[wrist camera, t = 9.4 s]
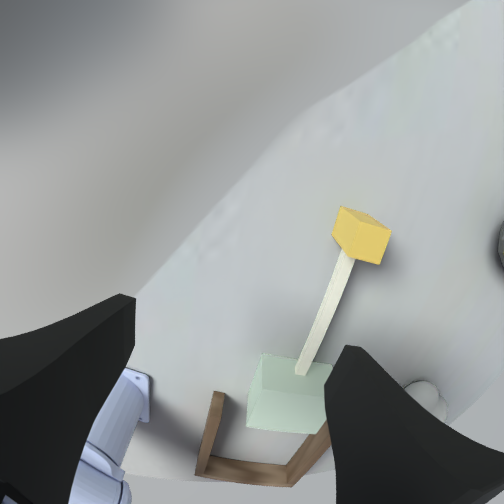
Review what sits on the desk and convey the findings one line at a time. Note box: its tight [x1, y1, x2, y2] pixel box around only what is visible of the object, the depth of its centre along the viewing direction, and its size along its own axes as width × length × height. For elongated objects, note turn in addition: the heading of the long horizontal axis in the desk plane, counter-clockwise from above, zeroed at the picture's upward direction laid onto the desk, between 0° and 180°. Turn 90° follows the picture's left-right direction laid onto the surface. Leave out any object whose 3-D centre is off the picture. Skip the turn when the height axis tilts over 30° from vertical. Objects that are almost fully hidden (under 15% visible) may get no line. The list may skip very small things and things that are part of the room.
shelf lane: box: [195, 391, 331, 487], centre depth 25 cm, size 12×14×3 cm
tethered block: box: [246, 206, 392, 434], centre depth 19 cm, size 6×18×4 cm, turn 167°
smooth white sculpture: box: [404, 381, 448, 423], centre depth 22 cm, size 4×8×5 cm
